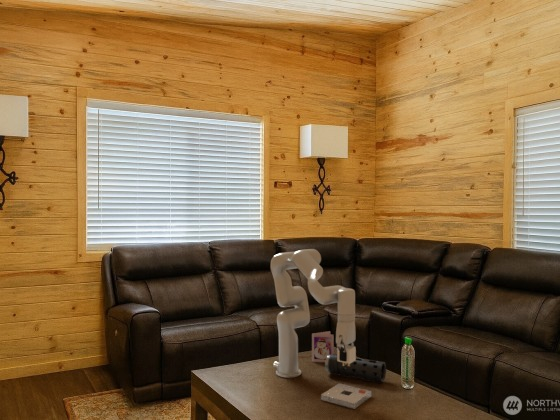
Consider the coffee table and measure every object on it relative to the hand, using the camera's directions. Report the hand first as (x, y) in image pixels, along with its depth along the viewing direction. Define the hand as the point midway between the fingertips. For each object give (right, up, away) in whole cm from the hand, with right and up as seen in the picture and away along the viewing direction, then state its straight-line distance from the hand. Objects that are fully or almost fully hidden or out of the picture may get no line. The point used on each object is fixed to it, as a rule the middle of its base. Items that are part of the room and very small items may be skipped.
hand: (346, 358), depth 216 cm
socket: (0, -17, 0) cm, 17 cm away
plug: (0, -3, 0) cm, 3 cm away
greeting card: (-6, -16, +51) cm, 54 cm away
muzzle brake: (+7, -17, +25) cm, 31 cm away
